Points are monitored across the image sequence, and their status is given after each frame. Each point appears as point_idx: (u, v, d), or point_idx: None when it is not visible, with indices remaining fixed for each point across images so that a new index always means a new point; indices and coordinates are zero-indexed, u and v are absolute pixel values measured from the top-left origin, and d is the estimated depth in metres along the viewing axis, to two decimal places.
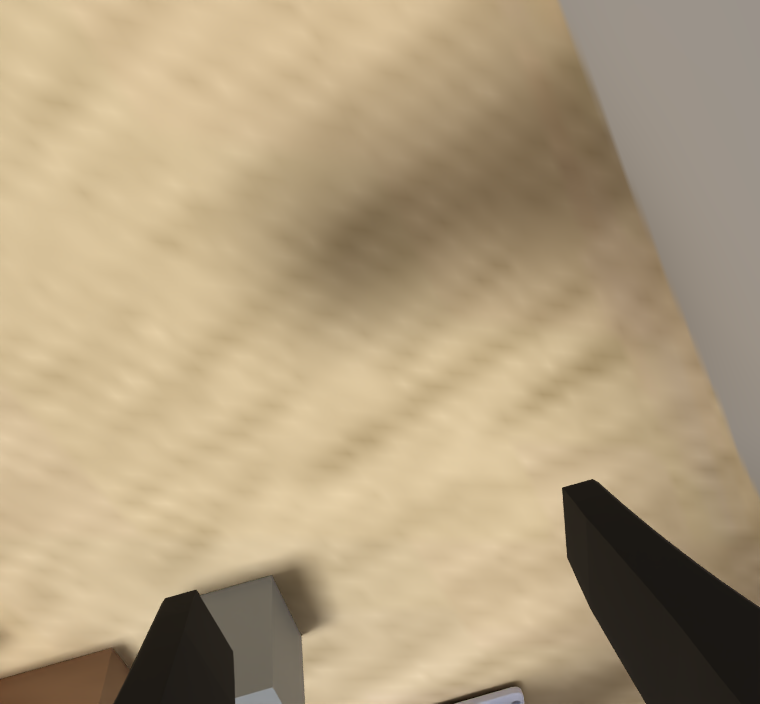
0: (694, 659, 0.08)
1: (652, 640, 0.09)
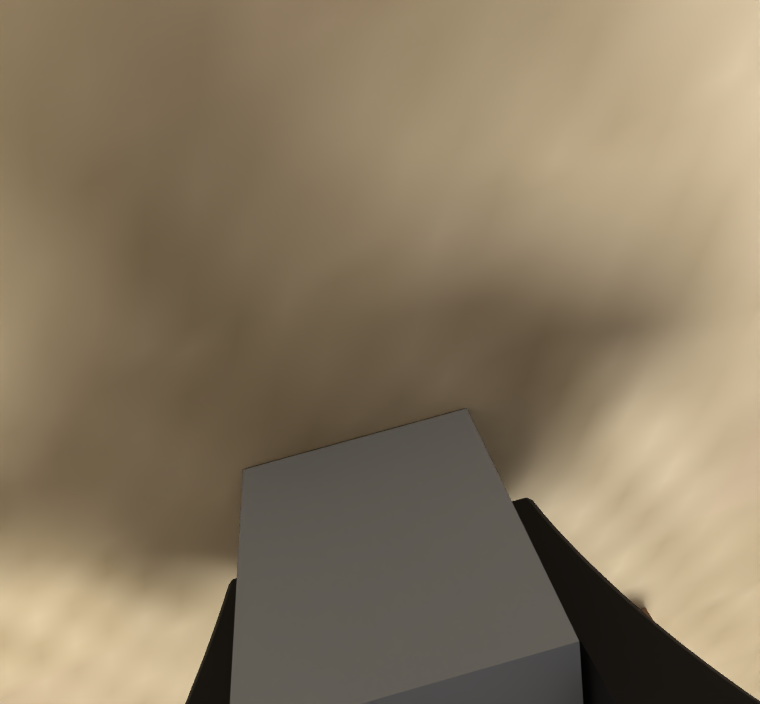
0: (600, 686, 0.08)
1: None
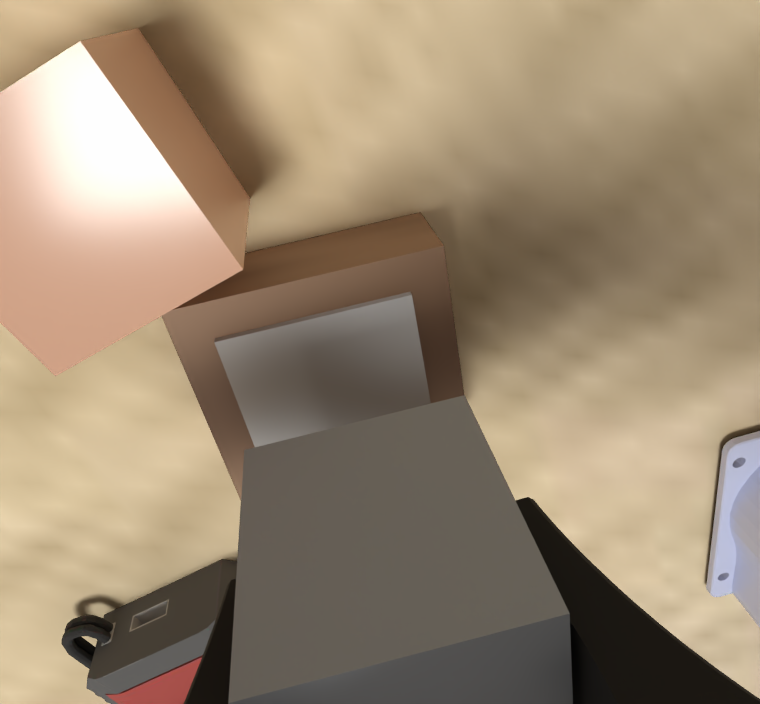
0: (601, 685, 0.08)
1: (572, 663, 0.09)
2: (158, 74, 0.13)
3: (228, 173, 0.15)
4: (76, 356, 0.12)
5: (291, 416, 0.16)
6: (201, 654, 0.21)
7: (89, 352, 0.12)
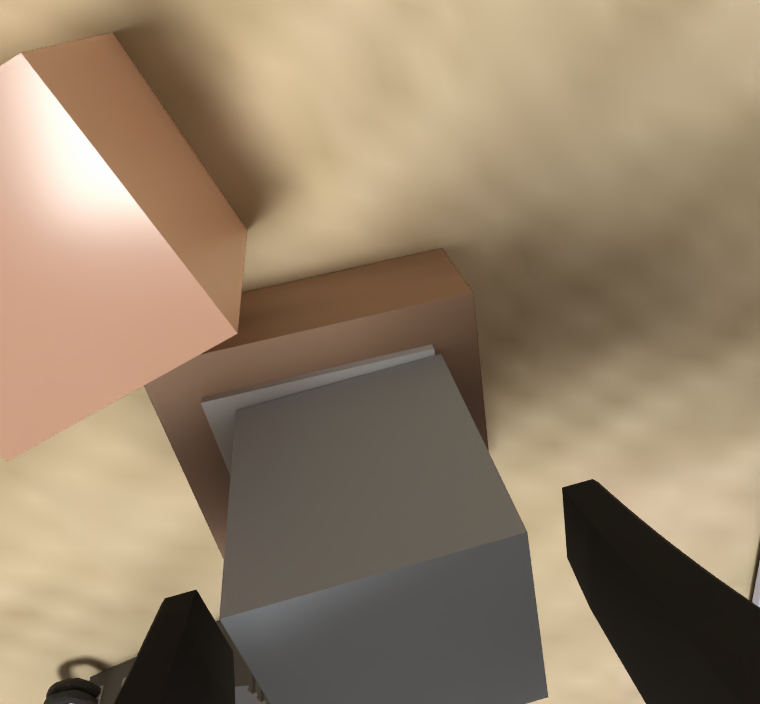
0: (694, 659, 0.08)
1: (652, 640, 0.09)
2: (136, 88, 0.11)
3: (221, 203, 0.13)
4: (32, 438, 0.10)
5: None
6: None
7: (48, 433, 0.10)
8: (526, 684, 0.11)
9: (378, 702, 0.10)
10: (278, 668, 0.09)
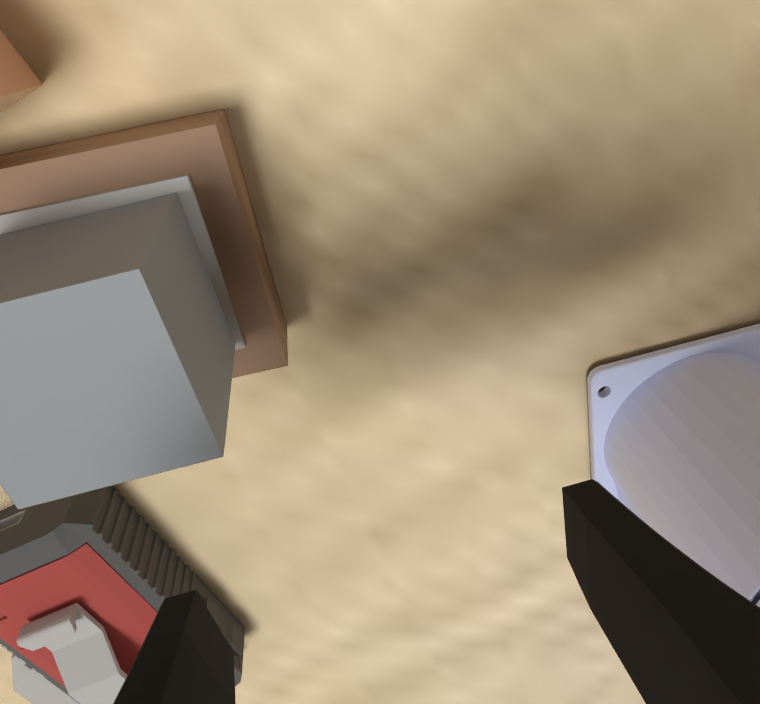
0: (694, 659, 0.08)
1: (651, 640, 0.09)
2: None
3: (6, 51, 0.15)
4: None
5: None
6: (48, 561, 0.20)
7: None
8: (197, 440, 0.13)
9: (63, 442, 0.12)
10: None
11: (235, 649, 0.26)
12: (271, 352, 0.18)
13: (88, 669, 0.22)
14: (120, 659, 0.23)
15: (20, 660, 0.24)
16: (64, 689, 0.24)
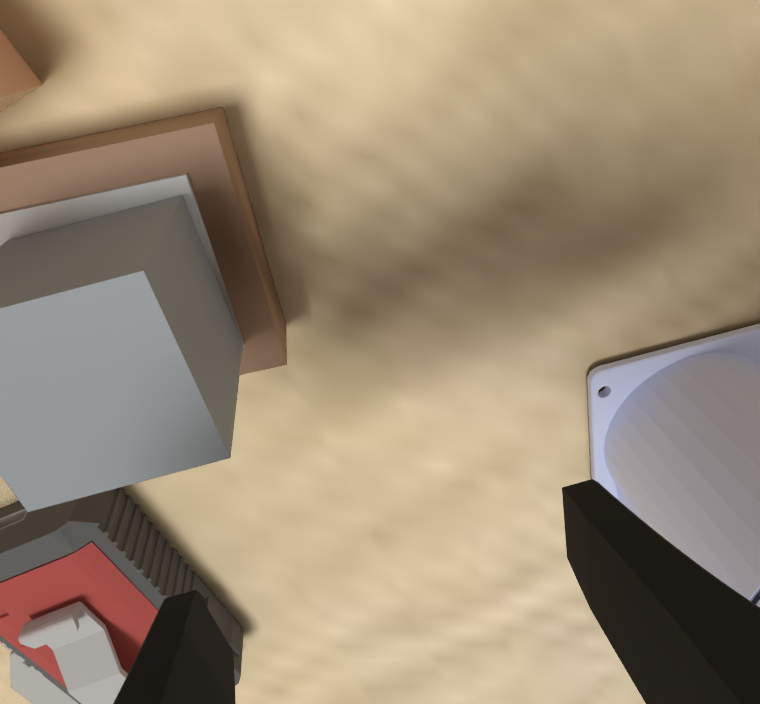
0: (694, 659, 0.08)
1: (651, 640, 0.09)
2: None
3: (6, 51, 0.15)
4: None
5: None
6: (52, 559, 0.20)
7: None
8: (204, 441, 0.13)
9: (71, 445, 0.12)
10: None
11: (234, 650, 0.26)
12: (270, 351, 0.18)
13: (89, 668, 0.22)
14: (120, 657, 0.23)
15: (19, 657, 0.24)
16: (62, 687, 0.24)
